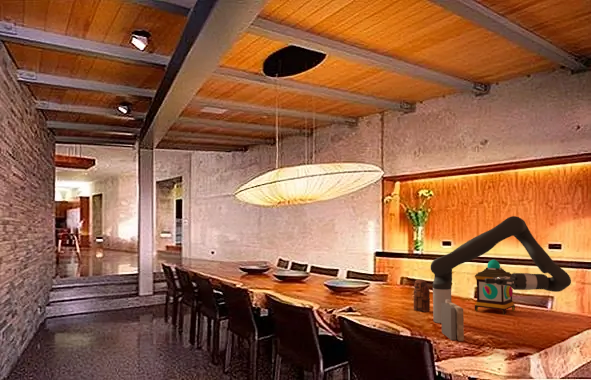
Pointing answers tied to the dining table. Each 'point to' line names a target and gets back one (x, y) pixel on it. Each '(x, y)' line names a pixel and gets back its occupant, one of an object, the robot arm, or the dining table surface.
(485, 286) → the decorative lantern
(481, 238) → the robot arm
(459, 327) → the ash plank
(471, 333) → the dining table surface
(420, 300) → the wooden figurine
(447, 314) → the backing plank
